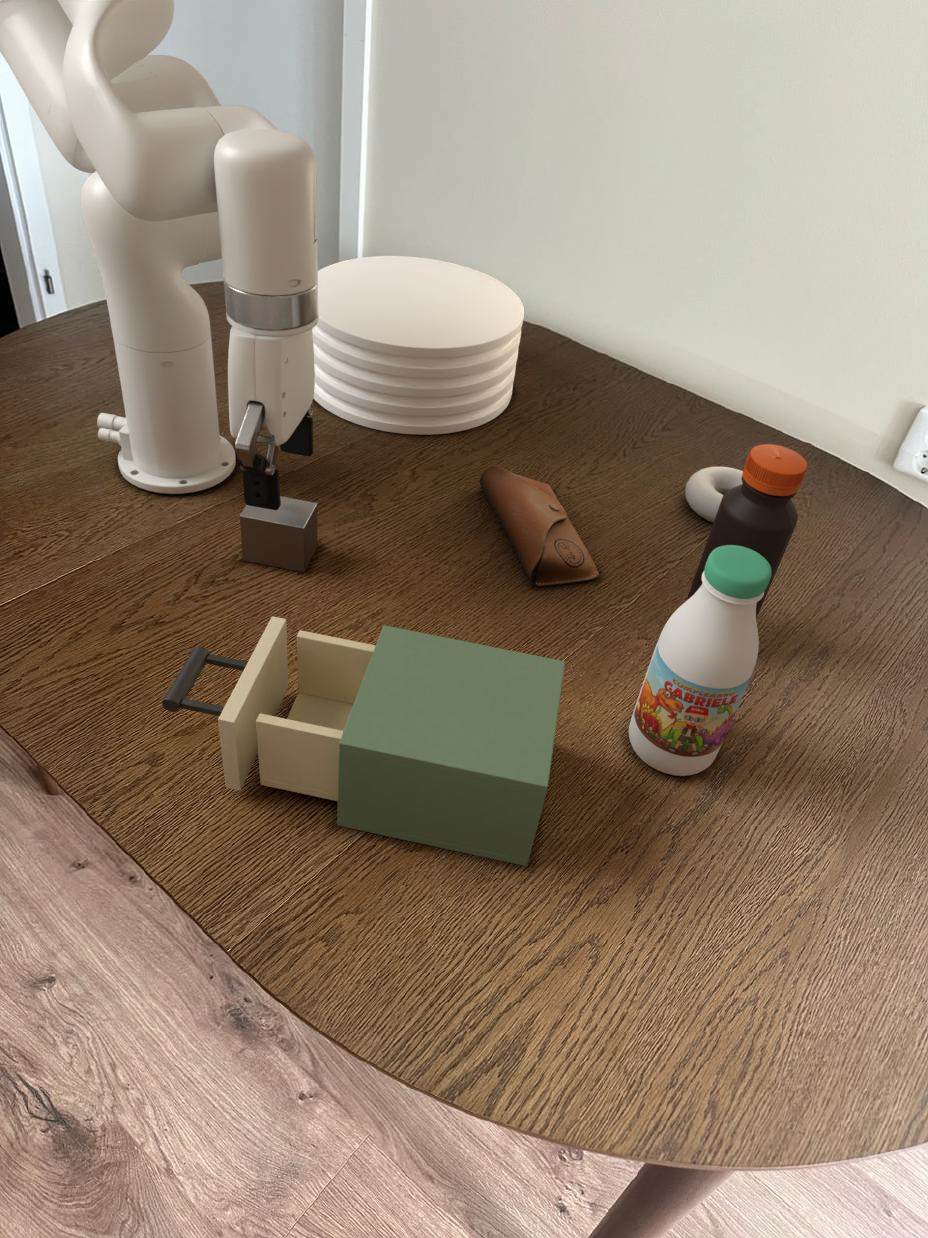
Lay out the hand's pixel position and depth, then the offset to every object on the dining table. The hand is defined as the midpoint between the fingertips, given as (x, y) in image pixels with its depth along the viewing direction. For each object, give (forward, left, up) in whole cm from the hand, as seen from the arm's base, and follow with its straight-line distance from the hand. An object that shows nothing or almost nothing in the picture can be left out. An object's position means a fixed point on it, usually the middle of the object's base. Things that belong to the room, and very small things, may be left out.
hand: (280, 478), depth 86 cm
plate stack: (+4, +41, -10) cm, 43 cm away
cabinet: (+22, -24, -9) cm, 33 cm away
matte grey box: (0, 0, -9) cm, 9 cm away
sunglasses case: (+25, +12, -10) cm, 29 cm away
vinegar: (+44, +1, -10) cm, 45 cm away
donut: (+46, +24, -10) cm, 53 cm away
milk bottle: (+40, -15, -10) cm, 43 cm away
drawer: (+9, -24, -8) cm, 27 cm away
